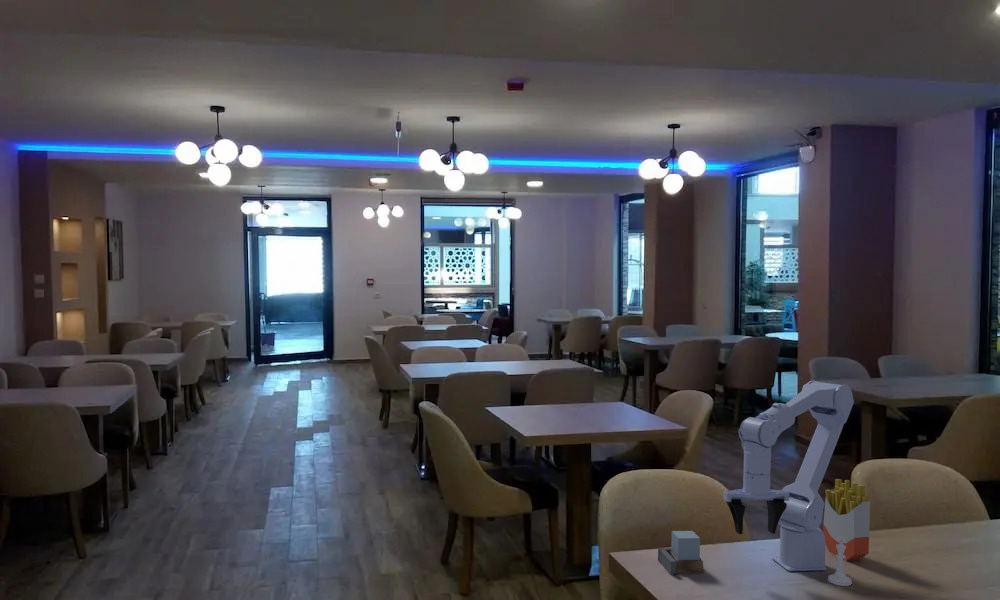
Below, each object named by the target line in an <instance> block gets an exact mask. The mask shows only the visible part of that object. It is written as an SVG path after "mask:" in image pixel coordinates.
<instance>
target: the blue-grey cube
mask: <svg viewBox="0 0 1000 600" xmlns="http://www.w3.org/2000/svg"><path fill="white" fill-rule="evenodd" d="M670 547H671V553H672V554H673V555H674V556H675V557H676V558H677V560H700V558H701V552H700V551H701V550H700V549H701V537H700V536H698V535H697V534H696V532H694V531H693V530H672V531H671V546H670Z"/></svg>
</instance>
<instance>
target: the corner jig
mask: <svg viewBox="0 0 1000 600" xmlns="http://www.w3.org/2000/svg"><path fill="white" fill-rule="evenodd" d="M670 551H671V546H670V547H658V549H657V561H658V562H659V563H660V565H661V566H662V565H663V566H664V567H663V566H662V567H663V568H664V569H665V570H666V572H667V573H668V572H669V573H668V574H669V575H670V576H672V575H673V576H674V574H677V573H676V561H675V560H674V559H673V558H672V557H671V555H670Z"/></svg>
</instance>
